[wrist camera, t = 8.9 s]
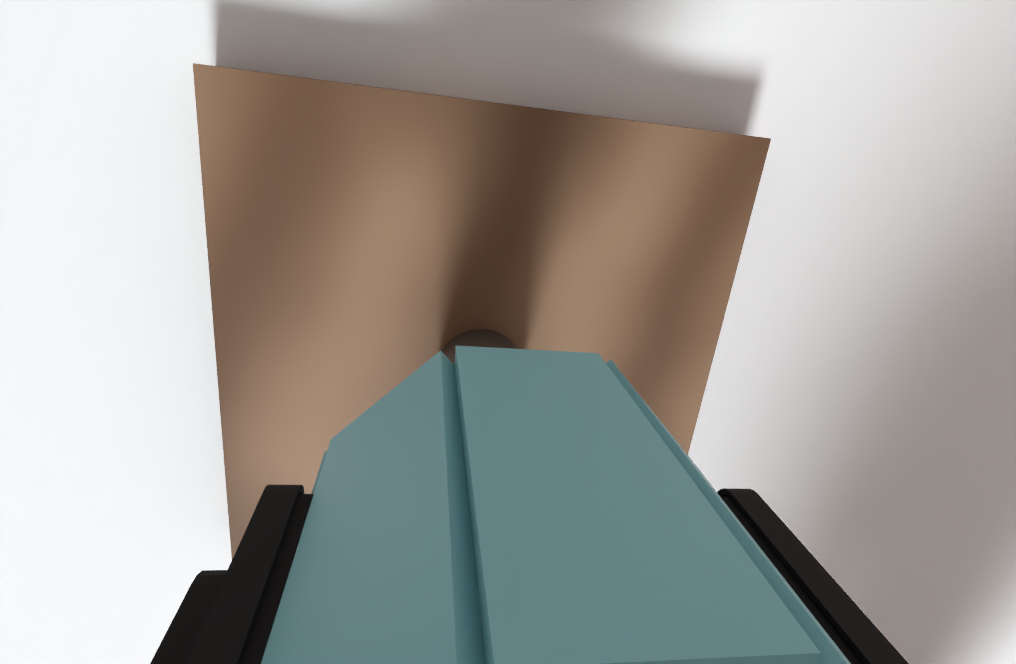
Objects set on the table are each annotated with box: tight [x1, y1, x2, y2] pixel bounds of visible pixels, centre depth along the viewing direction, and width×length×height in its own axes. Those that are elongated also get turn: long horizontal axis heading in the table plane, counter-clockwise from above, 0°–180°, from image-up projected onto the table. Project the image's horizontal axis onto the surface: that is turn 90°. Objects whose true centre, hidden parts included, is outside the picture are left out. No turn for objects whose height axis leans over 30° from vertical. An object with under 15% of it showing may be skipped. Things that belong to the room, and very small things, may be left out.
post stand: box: [193, 63, 771, 559], centre depth 14 cm, size 16×16×10 cm
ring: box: [261, 346, 851, 664], centre depth 8 cm, size 7×7×6 cm
